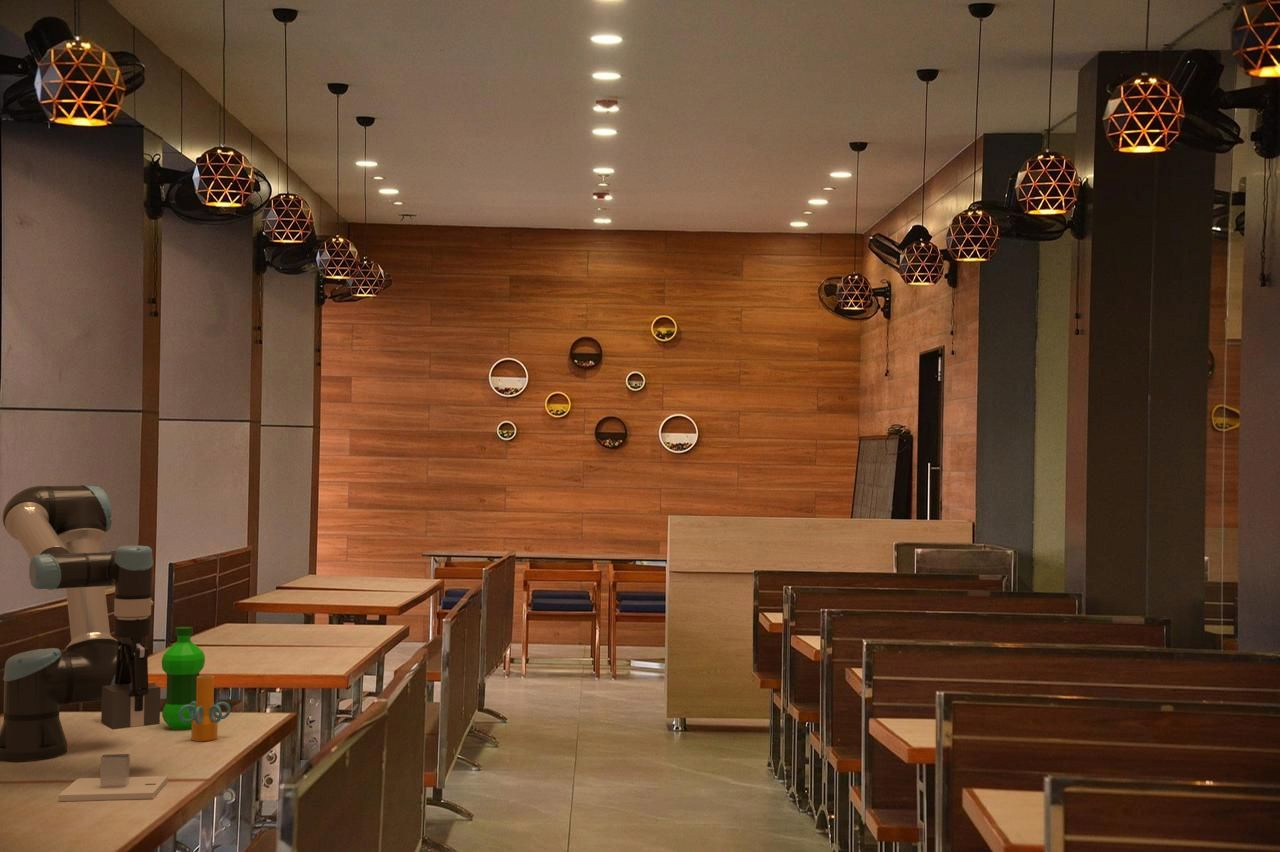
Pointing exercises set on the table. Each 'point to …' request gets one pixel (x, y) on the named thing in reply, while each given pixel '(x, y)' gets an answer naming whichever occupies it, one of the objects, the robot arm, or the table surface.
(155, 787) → the board
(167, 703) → the plastic bottle
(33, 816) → the table surface
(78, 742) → the table surface
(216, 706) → the orange tube with rings
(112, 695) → the dark grey block
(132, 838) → the table surface
